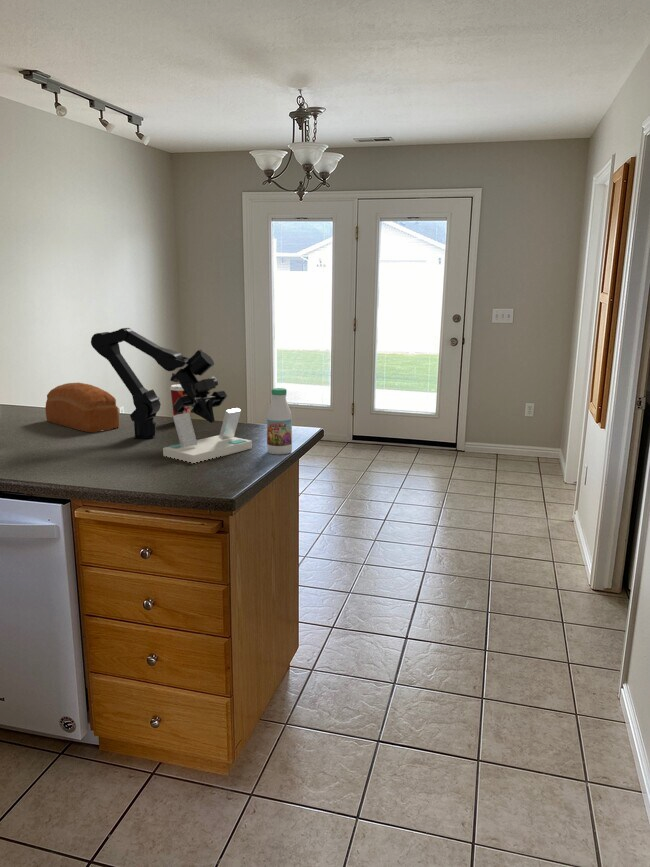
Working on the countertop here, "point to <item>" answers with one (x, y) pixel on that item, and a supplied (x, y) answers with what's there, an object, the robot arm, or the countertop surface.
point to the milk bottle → (279, 424)
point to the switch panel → (207, 449)
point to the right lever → (229, 423)
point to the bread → (82, 407)
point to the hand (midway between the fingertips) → (213, 422)
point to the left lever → (185, 430)
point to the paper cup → (176, 393)
